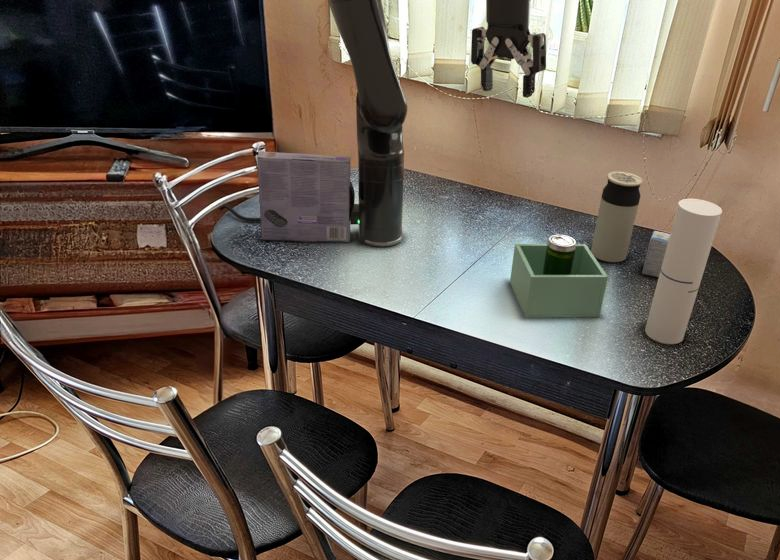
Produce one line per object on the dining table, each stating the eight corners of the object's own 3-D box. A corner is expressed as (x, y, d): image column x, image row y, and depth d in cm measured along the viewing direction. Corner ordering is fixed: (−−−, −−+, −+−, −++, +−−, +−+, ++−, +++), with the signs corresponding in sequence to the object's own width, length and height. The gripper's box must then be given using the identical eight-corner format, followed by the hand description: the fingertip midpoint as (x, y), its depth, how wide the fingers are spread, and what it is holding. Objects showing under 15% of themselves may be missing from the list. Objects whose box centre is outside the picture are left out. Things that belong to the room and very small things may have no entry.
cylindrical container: (640, 322, 129) (673, 197, 115) (676, 323, 130) (713, 199, 116) (651, 343, 123) (686, 214, 109) (688, 344, 124) (728, 216, 110)
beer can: (572, 299, 133) (582, 243, 126) (552, 306, 130) (562, 249, 123) (553, 287, 136) (562, 232, 130) (533, 294, 133) (542, 237, 126)
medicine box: (680, 274, 148) (690, 237, 143) (678, 283, 144) (688, 246, 140) (644, 265, 150) (653, 229, 145) (641, 274, 146) (650, 237, 141)
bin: (525, 318, 127) (531, 277, 122) (509, 282, 137) (514, 243, 133) (599, 316, 130) (608, 276, 125) (578, 282, 140) (585, 244, 136)
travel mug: (604, 265, 148) (621, 186, 138) (583, 249, 154) (598, 172, 144) (633, 260, 151) (651, 182, 141) (612, 245, 157) (628, 169, 147)
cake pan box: (355, 233, 149) (354, 153, 140) (355, 243, 145) (354, 162, 136) (263, 231, 146) (256, 149, 136) (261, 241, 142) (253, 158, 132)
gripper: (461, -8, 115) (463, 92, 124) (533, -2, 108) (530, 103, 117) (486, -12, 120) (486, 84, 129) (556, -7, 114) (552, 94, 123)
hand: (507, 93), depth 123 cm, fingers open, 8 cm apart
